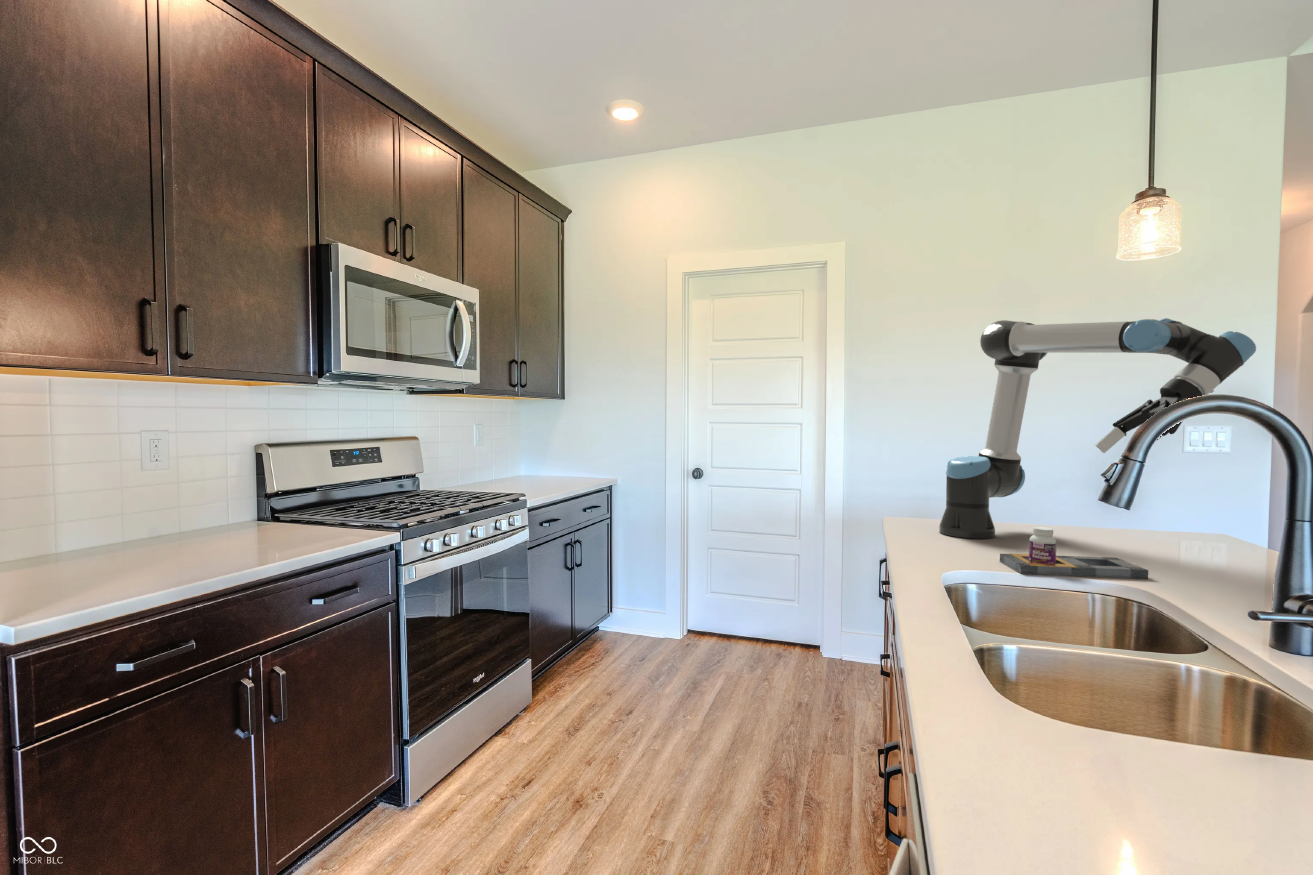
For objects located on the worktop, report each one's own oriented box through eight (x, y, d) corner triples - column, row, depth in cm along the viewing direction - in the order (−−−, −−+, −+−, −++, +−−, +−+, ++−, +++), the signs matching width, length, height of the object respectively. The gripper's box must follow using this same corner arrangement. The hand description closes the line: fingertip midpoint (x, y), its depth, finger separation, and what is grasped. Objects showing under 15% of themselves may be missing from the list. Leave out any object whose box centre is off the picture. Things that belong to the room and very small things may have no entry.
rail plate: (999, 561, 150) (999, 553, 150) (1116, 565, 146) (1116, 557, 146) (1020, 573, 138) (1021, 564, 138) (1148, 579, 134) (1148, 569, 134)
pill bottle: (1030, 570, 142) (1032, 529, 141) (1026, 565, 147) (1027, 525, 146) (1058, 572, 140) (1059, 530, 139) (1052, 567, 145) (1053, 527, 144)
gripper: (1242, 397, 130) (1162, 466, 133) (1164, 400, 155) (1098, 458, 158) (1215, 372, 131) (1135, 441, 134) (1142, 379, 156) (1076, 437, 159)
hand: (1115, 450), depth 146 cm, fingers open, 13 cm apart
